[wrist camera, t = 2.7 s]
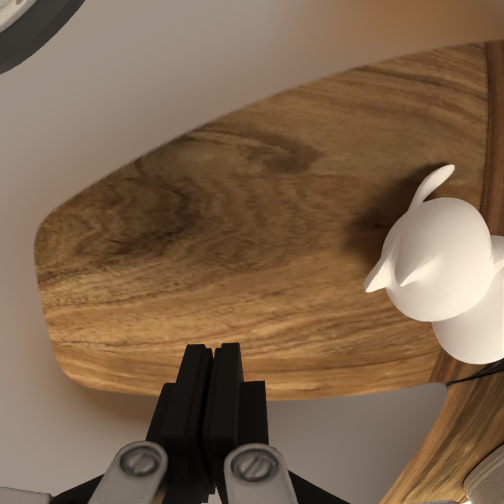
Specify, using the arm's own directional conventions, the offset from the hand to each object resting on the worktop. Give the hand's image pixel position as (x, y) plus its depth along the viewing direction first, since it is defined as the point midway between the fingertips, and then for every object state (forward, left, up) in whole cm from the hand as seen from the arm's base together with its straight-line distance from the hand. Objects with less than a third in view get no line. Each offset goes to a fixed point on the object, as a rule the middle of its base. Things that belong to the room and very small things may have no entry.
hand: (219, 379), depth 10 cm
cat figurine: (+7, +12, -9) cm, 17 cm away
